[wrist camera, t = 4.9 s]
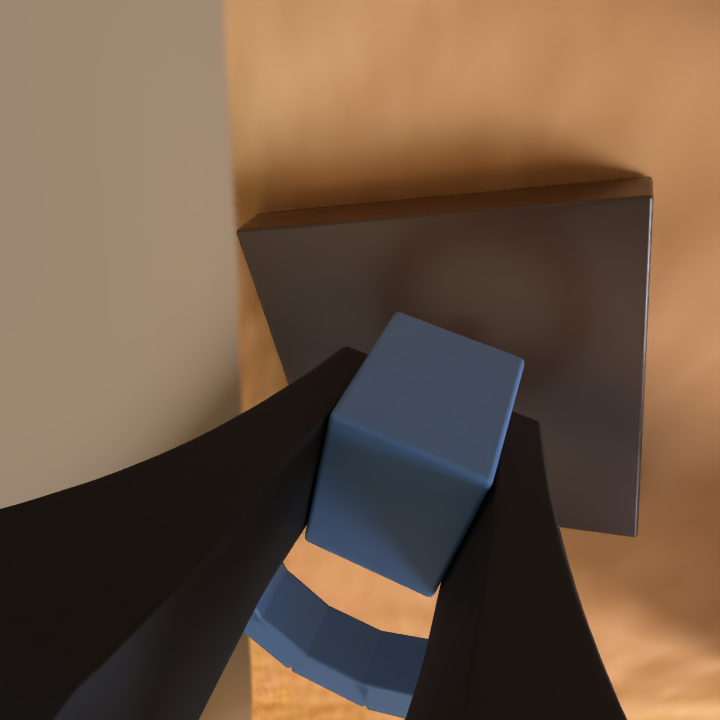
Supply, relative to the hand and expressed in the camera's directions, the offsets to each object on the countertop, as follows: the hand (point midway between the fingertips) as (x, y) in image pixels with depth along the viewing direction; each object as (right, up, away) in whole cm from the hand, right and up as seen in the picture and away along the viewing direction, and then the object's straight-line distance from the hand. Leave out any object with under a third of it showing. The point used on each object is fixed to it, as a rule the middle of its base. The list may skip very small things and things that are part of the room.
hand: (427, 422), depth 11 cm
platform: (+2, +1, +10) cm, 10 cm away
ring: (-1, -3, +3) cm, 4 cm away
